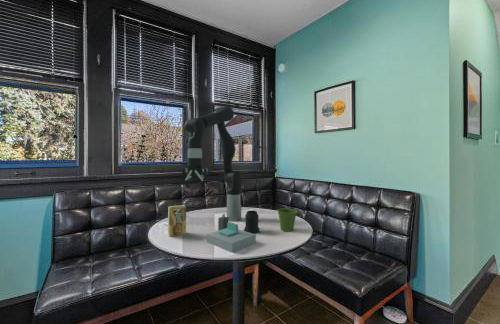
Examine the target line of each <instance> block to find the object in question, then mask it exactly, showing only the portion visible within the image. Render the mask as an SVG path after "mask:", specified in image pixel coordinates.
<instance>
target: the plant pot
mask: <svg viewBox="0 0 500 324" xmlns="http://www.w3.org/2000/svg"><path fill="white" fill-rule="evenodd" d="M276 211H277V214H278V219H279V226H280V230H281V231H282V230H283V232H292V231H294V229H295V228H294V227H295V224H296V223H295V221H296V217H297V214H298V210H297V209H293V208H279V209H277V210H276Z"/></svg>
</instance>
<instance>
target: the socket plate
mask: <svg viewBox="0 0 500 324" xmlns="http://www.w3.org/2000/svg"><path fill="white" fill-rule="evenodd" d="M226 229H227V228H226ZM222 230H224V229H222ZM219 231H221V230H219ZM219 231H218V230H216V231H212V232H209V233H206V243H208V244H210V245H213V246H215V247H218V248H220V249H222V250H226V251H228V252H230V253H234V252H236V251H238V250H241V249H244V248H246V247H248V246H250V245H253V244H256V241H257V240H256V239H257V235H256V234H257V233H256V234H252V233H249V232H246V231H244V230H242V229H239V228H238V233H236V234H233V235H230V236H226V235H223V234H220V233H219Z"/></svg>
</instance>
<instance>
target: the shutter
mask: <svg viewBox="0 0 500 324" xmlns="http://www.w3.org/2000/svg"><path fill="white" fill-rule="evenodd" d="M238 229H239V224H238V223H234V222H232V221H230V222H228V223H227V229H224V230H221V231H219V233H220V234H223V235H226V236H230V235H233V234H236V233H238Z"/></svg>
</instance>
